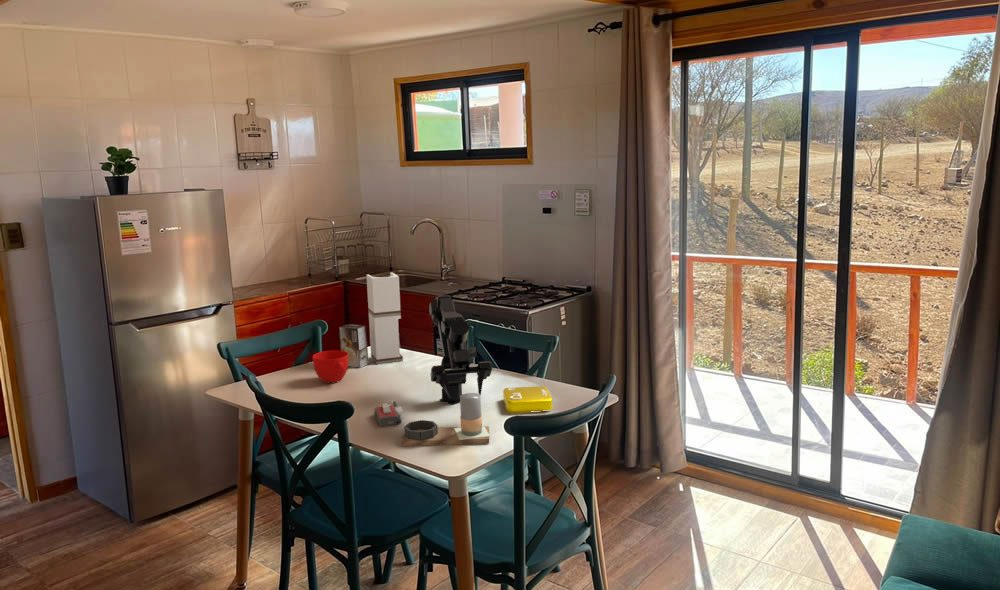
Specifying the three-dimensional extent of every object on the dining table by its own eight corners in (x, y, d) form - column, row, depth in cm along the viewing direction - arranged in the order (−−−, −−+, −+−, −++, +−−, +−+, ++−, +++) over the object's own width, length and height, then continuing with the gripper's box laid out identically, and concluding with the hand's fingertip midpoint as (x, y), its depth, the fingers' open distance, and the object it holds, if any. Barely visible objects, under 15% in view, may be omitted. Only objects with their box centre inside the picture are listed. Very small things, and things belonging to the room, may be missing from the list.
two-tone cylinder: (465, 427, 220) (463, 392, 218) (485, 428, 218) (483, 393, 216) (458, 435, 214) (456, 398, 212) (478, 436, 212) (477, 400, 210)
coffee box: (369, 363, 296) (367, 325, 293) (360, 368, 290) (358, 328, 287) (350, 361, 300) (348, 323, 297) (341, 366, 294) (338, 326, 291)
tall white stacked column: (402, 361, 299) (398, 276, 292) (377, 364, 295) (372, 278, 288) (396, 354, 309) (392, 272, 302) (371, 357, 305) (366, 274, 299)
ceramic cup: (327, 390, 263) (325, 364, 261) (308, 380, 276) (307, 354, 274) (360, 383, 270) (358, 357, 268) (341, 373, 284) (339, 348, 282)
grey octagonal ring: (422, 425, 223) (421, 417, 222) (444, 433, 216) (444, 424, 216) (397, 435, 216) (397, 426, 215) (420, 442, 209) (419, 434, 209)
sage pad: (454, 428, 219) (454, 428, 219) (483, 425, 221) (483, 425, 221) (459, 439, 211) (459, 439, 211) (490, 436, 213) (490, 435, 213)
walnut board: (402, 445, 211) (402, 441, 211) (406, 433, 221) (405, 428, 221) (489, 443, 212) (489, 438, 211) (489, 430, 221) (488, 426, 221)
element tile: (553, 412, 237) (553, 398, 236) (507, 415, 236) (506, 400, 235) (546, 397, 252) (546, 384, 251) (502, 400, 250) (502, 386, 249)
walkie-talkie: (407, 426, 228) (397, 405, 247) (407, 412, 227) (396, 393, 246) (379, 429, 226) (371, 408, 244) (378, 415, 225) (370, 396, 244)
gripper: (430, 340, 223) (437, 386, 215) (490, 336, 227) (499, 380, 219) (427, 358, 232) (434, 403, 224) (485, 353, 236) (493, 397, 228)
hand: (465, 395), depth 223 cm, fingers open, 9 cm apart
